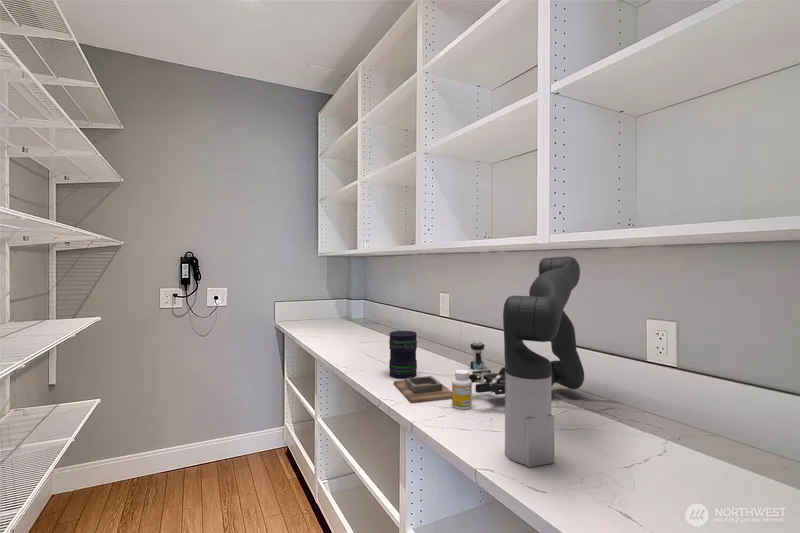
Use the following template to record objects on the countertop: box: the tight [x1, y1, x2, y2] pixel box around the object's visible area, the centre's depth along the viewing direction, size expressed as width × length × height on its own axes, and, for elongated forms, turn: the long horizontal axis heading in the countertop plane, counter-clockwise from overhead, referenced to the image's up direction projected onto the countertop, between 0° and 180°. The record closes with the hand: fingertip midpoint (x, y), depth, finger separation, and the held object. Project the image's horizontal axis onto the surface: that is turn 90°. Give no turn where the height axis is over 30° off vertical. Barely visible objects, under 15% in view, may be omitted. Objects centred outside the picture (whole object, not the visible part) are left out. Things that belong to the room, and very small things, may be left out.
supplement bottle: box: [451, 369, 473, 410], centre depth 109 cm, size 5×5×10 cm
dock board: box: [393, 375, 452, 404], centre depth 121 cm, size 18×14×3 cm
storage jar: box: [388, 330, 418, 380], centre depth 138 cm, size 10×10×15 cm
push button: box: [470, 340, 487, 371], centre depth 147 cm, size 7×5×10 cm
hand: (468, 383), depth 109 cm, fingers open, 8 cm apart
